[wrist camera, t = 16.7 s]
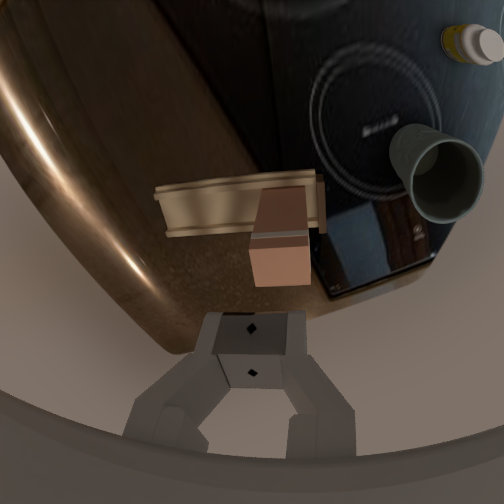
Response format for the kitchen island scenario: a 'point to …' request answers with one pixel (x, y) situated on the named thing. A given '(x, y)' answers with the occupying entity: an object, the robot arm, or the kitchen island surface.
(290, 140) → the kitchen island surface
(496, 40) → the supplement bottle
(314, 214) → the chute
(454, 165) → the green cup
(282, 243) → the block
